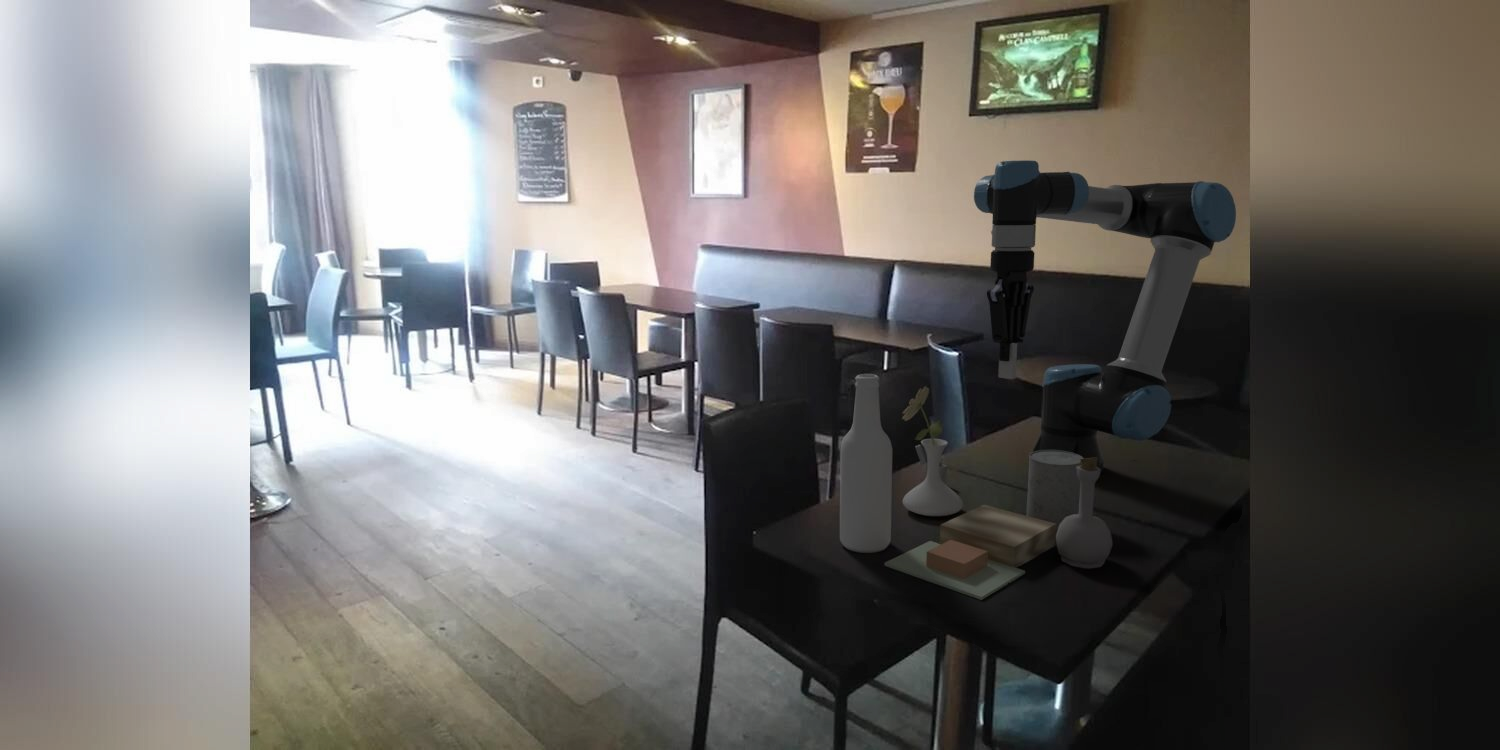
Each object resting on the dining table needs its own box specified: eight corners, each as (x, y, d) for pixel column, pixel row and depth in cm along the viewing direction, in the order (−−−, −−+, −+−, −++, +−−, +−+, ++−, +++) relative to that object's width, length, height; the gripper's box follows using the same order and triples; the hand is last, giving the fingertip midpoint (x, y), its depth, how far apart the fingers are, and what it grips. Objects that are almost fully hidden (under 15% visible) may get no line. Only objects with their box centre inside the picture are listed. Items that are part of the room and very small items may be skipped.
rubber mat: (929, 543, 152) (930, 540, 152) (1024, 573, 140) (1025, 570, 140) (884, 565, 144) (884, 562, 143) (981, 600, 131) (981, 596, 131)
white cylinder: (1083, 531, 157) (1088, 466, 155) (1028, 528, 159) (1031, 463, 156) (1075, 513, 166) (1079, 450, 164) (1023, 510, 168) (1026, 448, 166)
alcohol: (838, 534, 157) (839, 371, 151) (887, 534, 157) (890, 370, 151) (841, 554, 148) (843, 381, 142) (893, 554, 148) (897, 381, 142)
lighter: (946, 485, 183) (947, 448, 181) (941, 487, 182) (942, 450, 180) (919, 477, 188) (920, 442, 186) (914, 479, 187) (915, 443, 185)
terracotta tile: (950, 553, 147) (950, 539, 146) (987, 565, 142) (987, 551, 141) (926, 566, 142) (926, 551, 141) (963, 579, 137) (964, 564, 137)
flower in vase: (931, 497, 176) (935, 375, 171) (975, 513, 167) (980, 385, 162) (883, 510, 169) (885, 384, 164) (926, 528, 159) (930, 394, 154)
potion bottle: (1082, 575, 139) (1089, 466, 135) (1043, 555, 147) (1048, 452, 143) (1123, 565, 142) (1131, 459, 139) (1083, 546, 150) (1089, 445, 147)
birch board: (982, 525, 161) (983, 504, 160) (1054, 545, 151) (1056, 523, 150) (939, 546, 151) (940, 524, 150) (1013, 570, 141) (1014, 546, 140)
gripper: (1012, 246, 164) (1006, 369, 169) (974, 250, 155) (970, 380, 160) (1049, 247, 159) (1043, 375, 163) (1013, 251, 150) (1007, 386, 154)
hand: (1006, 377), depth 161 cm, fingers closed
